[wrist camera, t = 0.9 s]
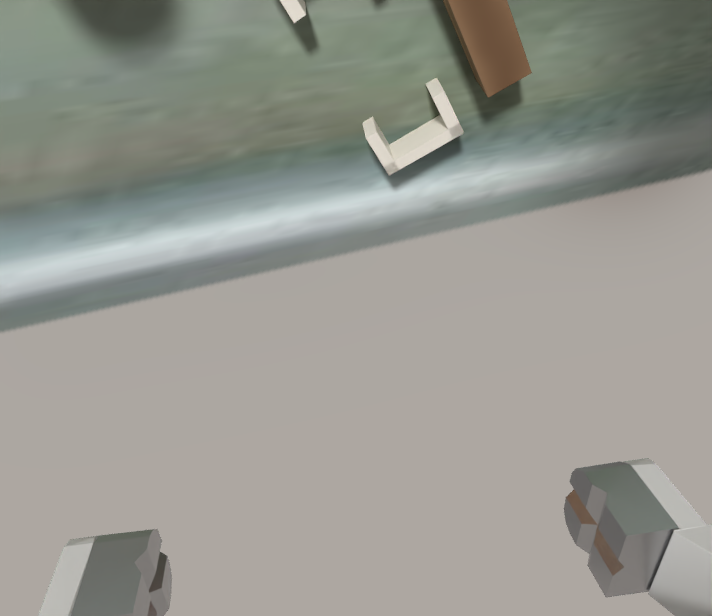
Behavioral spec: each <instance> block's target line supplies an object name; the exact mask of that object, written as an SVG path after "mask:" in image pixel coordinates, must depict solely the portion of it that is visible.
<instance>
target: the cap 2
mask: <svg viewBox="0 0 712 616" xmlns="http://www.w3.org/2000/svg"><path fill="white" fill-rule="evenodd" d="M426 86H427V88H428V90H429V92H430V94H431V96H432V98H433V100H434V102H435V104H436V106H437V108H438V110H439V112H440V114H441V115H439V116H437V117H435V118H434V119H432V120H430V121H429V122H427V123H425V124H424V125H422V126H420V127H418V128H417V129H415V130H413V131H412V132H410V133H408V134H407V135H405V136H403V137H401V138H400V139H398V140H396V141H395V142H393V143H391V144H389V143H388V142H387V140H386V138H385V136H384V135H383V133H382V131H381V130H380V128H379V126H378V125H377V123H376V121H375V120H374V118H373V117H371V118H369V119H368V120H366V121H364V122H363V128H364V132H365V137H366V139H367V141H368V143H369V144H370V146H371V147H372V149H373V151H374V152H375V154H376V155H377V157H378V159H379V160H380V162H381V163H382V165H383V167H384V168H385V170H386V171H387V173H388V175H391V174H393V173H395V172H396V171H398V170H400V169H402V168H403V167H405V166H407V165H409V164H411V163H412V162H414V161H416V160H418V159H419V158H421V157H423V156H425V155H426V154H428V153H430V152H432V151H433V150H435V149H437V148H439V147H440V146H442V145H444V144H446V143H447V142H449V141H451V140H453V139H454V138H456V137H458V136H460V135H462V134H463V133H464V132H463V130H462V127H461V125H460V123H459V121H458V119H457V117H456V115H455V113H454V111H453V109H452V107H451V104H450V102H449V100H448V98H447V96H446V94H445V92H444V90H443V88H442V86H441V84H440V83H439V81H438V79H437V77H436V78H435V79H433V80H431V81H430V82H428V83H426Z"/></svg>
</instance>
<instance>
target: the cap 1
mask: <svg viewBox="0 0 712 616" xmlns="http://www.w3.org/2000/svg"><path fill="white" fill-rule="evenodd" d="M280 1H281V3H282V5H283V6H284V8H285V9H286V11H287V13H288V14H289V16H290V17H291V19H292V21H293V22H294V23H295V22H296V21H298V20H299V19H301V18H302V17H304V16H305V15H306V5H305V2H304V0H280Z"/></svg>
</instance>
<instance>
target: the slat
mask: <svg viewBox="0 0 712 616" xmlns="http://www.w3.org/2000/svg"><path fill="white" fill-rule="evenodd" d="M443 2H444V4H445V7H446V9H447V11H448V14H449V16H450V19H451V21H452V23H453V26H454V28H455V31H456V33H457V35H458V38H459V40H460V43H461V45H462V47H463V50H464V52H465V54H466V57H467V59H468V62H469V64H470V66H471V69H472V71H473V74H474V76H475V78H476V81H477V82H478V83H479V85H480V86H481V88H482V89H483V91H484V92H485V94H486V95H487V97H490V96H492V95H494V94H496V93H497V92H499V91H501V90H503V89H504V88H506V87H508V86H510V85H511V84H513V83H515V82H517V81H518V80H520V79H522V78H524V77H525V76H527V75H529V74H531V73H532V72H531V69H530V66H529V63H528V61H527V58H526V55H525V52H524V49H523V46H522V43H521V40H520V37H519V34H518V31H517V28H516V25H515V23H514V20H513V17H512V14H511V11H510V8H509V5H508V2H507V0H443Z"/></svg>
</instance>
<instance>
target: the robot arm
mask: <svg viewBox="0 0 712 616" xmlns="http://www.w3.org/2000/svg"><path fill="white" fill-rule="evenodd" d="M570 483H571V485H572V486H573V488H574V490H573V491H572V492H571V493H570V494H569V495H568V496H567V497H566V500H565V506H564V513H565V520H566V524H567V527H568V529H569V532H570V534H571V536H572V538H573V540H574V542H575V544H576V545H577V546H579V547H580V548H582V549H583V550H584V551H586V552H588V553H589V560H588V567H589V569H590V570H591V572H592V574H593V576H594V577H595V579H596V581H597V582H598V584H599V586H600V588H601V589H602V591H603V593H604V595H605V597H612V596H619V595H625V594H634V593H640V592H648V591H649V593H648V594H649V595H650V596H651V597H652V598H654V599H655V600H656V601H658V602H659V603H660V604H661V605H662V606H664V607H665V608H666V609H667V610H668V611H670V612H671V613H672V614H673V615H675V616H712V524H709V525H707V524H706V523H705V522H704V521H703V519H702V518H701V517H700V516H699V514H698V513H697V512H696V511H695V510H694V508H693V507H692V506H691V505H690V504H689V503H688V501H687V500H686V499H685V498H684V497H683V495H682V494H681V493H680V492H679V491H678V489H677V488H676V487H675V486H674V485H673V483H672V482H671V481H670V480H669V479H668V477H667V476H666V475H665V474H664V473H663V472H662V470H661V469H660V468H659V467H658V466H657V464H656V463H655V462H654V461H652V460H650V459H649V458H646V459H639V460H632V461H625V462H614V463H608V464H602V465H595V466H590V467H583V468H577V469H575V470H574V471H573V472H572V475H571V479H570ZM161 542H162V540H161V537H160V535H159V532H158V530H157V529H153V530H145V531H136V532H127V533H118V534H109V535H102V536H93V537H86V538H79V539H71V540H69V542H68V543H67V545H66V546H65V547H64V548H63V550H62V553H61V556H60V558H59V561H58V564H57V566H56V569H55V572H54V575H53V577H52V580H51V582H50V585H49V588H48V590H47V593H46V596H45V598H44V601H43V604H42V606H41V609H40V612H39V614H38V616H164V615H165V613H166V612H167V611H168V609H169V606H170V599H171V583H172V575H171V568H170V563H169V560H168V557H167V556H166V555H165V554H163V553H161V552H160V548H161Z"/></svg>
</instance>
